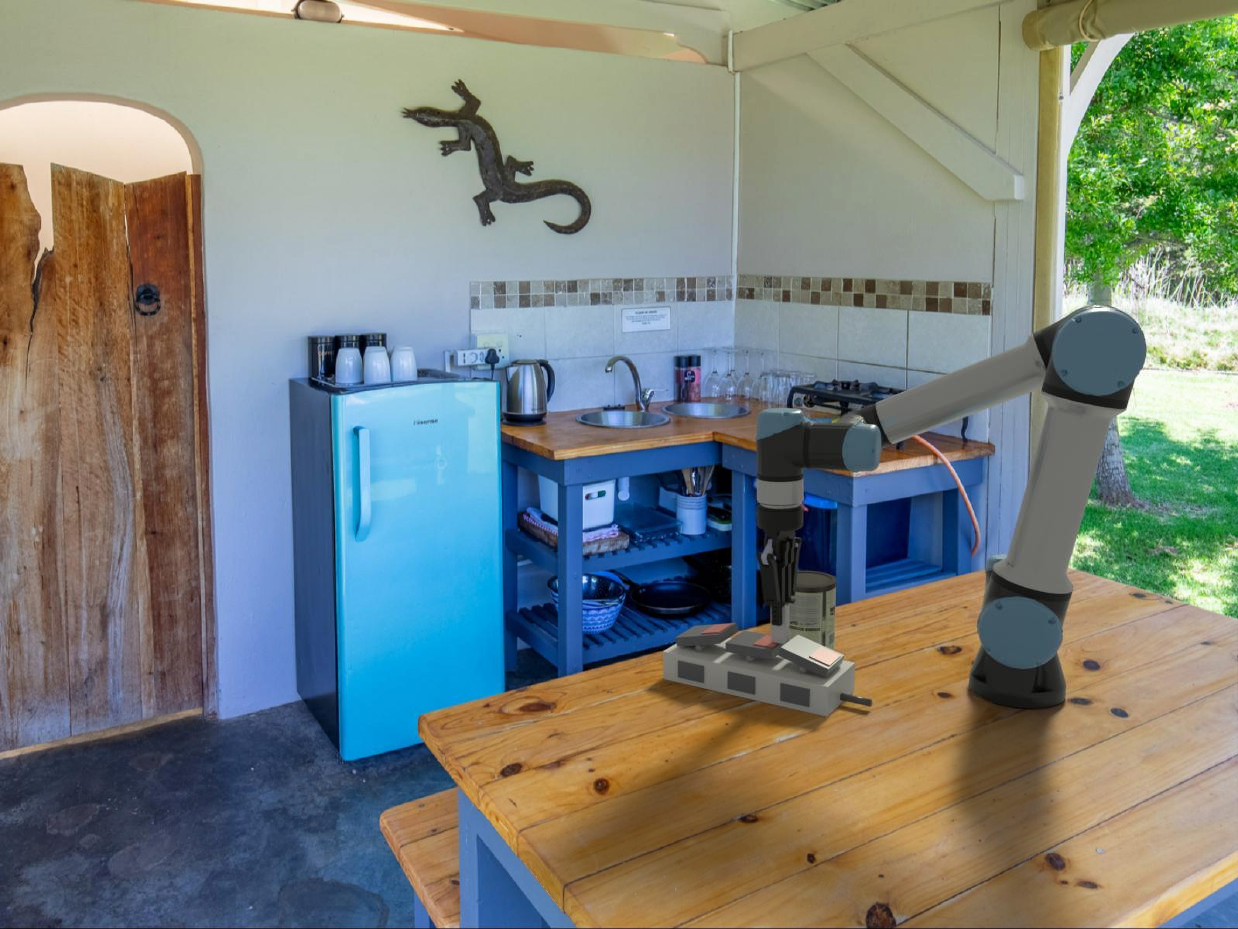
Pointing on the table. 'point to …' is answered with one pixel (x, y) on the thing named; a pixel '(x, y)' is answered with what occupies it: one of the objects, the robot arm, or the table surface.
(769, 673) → the power strip
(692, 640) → the rocker
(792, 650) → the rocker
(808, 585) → the coffee can
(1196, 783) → the table surface
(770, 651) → the rocker
